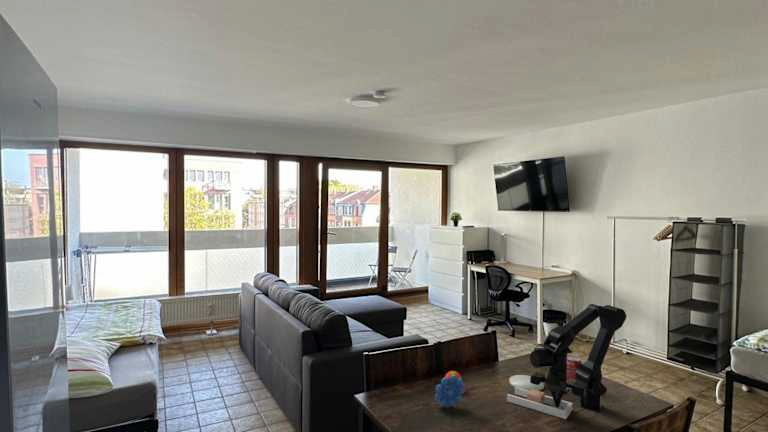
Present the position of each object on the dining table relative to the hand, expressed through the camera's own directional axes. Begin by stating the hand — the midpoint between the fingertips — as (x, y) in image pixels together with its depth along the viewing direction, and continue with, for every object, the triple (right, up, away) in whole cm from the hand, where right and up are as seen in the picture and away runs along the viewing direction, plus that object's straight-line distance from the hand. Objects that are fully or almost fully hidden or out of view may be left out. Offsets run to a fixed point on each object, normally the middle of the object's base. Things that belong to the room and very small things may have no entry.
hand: (557, 406), depth 153 cm
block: (-6, -2, +5) cm, 8 cm away
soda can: (+15, -1, +21) cm, 26 cm away
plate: (-4, -1, +23) cm, 23 cm away
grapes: (-39, -1, +3) cm, 40 cm away
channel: (-5, -1, +4) cm, 7 cm away
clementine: (-36, -1, +18) cm, 40 cm away
